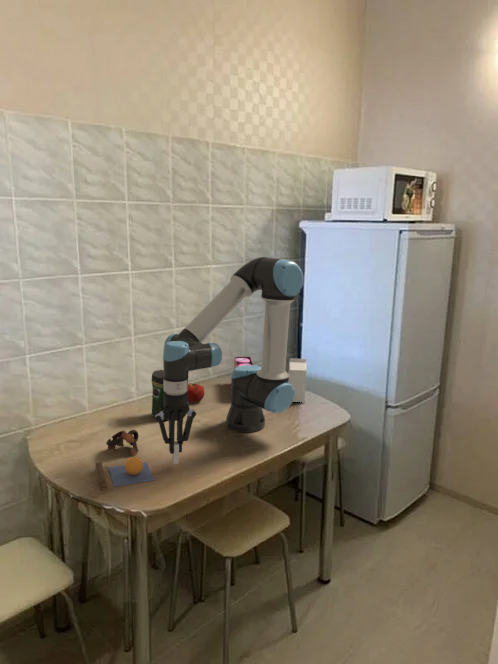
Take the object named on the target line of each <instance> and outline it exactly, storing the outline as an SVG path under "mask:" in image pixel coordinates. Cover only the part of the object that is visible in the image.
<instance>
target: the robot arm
mask: <svg viewBox="0 0 498 664" xmlns="http://www.w3.org/2000/svg"><path fill="white" fill-rule="evenodd" d="M229 281H230V282H228V284H227V285H226V286H225V287H224V288H223V289H222V290H220V292H218V294H216V295H215V296H214V297H213V298H212V300H211V301H209V303H207V305H205V307H204V308H203V309H202V310H201V311H200V312H199V313H198V314H197V315H196V316H195V317H194V318H193V319H192V320H191V321H190V322H189V323H188V324H187V325H186V326H185V327H184V328H183V329H182V330H181V331H180V332H179V333H172V334H169V335H168V336H167V337H166V339H165V340H164V346H163V354H162V361H163V364H162V365H163V367H162V368H163V369H162V370H164V389H163V390H164V405H163V408H162V411H161V412H160V413H159V414H157V413H156V414H155V417H156V418H155V417H154V418H155V419H156V420H157V422H158V425H159V428H160V429H159V430H160V432H161V436H162V440H163V441H164V444H167V445H168V446H169V447H168V451H169V453H170V455H171V456H172V457H171V458H172V460H171V461H172V463H173V464H174V465H177V464H180V453H182V451H183V444H184V442H187V441H188V440H189V437H190V434H191V429H192V425H193V421H194V418H195V417H196V415H197V412H196V411H195V409H192V408H190V406H189V401H188V392H187V391H188V384H189V374H190V373H189V372H193V371H197V370H201V369H202V370H203V369H207V368H213V367H216V366H219V365H220V364H221V363H222V360H223V351H222V348H221V347H220V345H219V344H218V343H216V342H208V343H202V342H204V341H205V339H207V337H208V336H209V335H211V334H212V332H213V331H214V330H216V328H217V327H218V326H219V325H220V324H221V323H222V322H223V321H224V320H225V319H226V318H227V317H228V315H229V314H231V312H232V311H233V310H234V309H236V307H237V306H238V305H239V304H240V303H241V302H242V301H243V300H244V299H245V298H246V297H248V298H249V297H251V296H252V295H253V294H254V293H255V292H257V291H261V297H260V298H261V299H262V300H263V302H264V304H265V305H264V317H263V318H264V319H263V320H264V321H263V337H262V350H261V351H262V352H261V365H254V364H253V365H248V366H240V367H236V368H235V369H234V368H233V370H232V372H231V374H232V375H231V378H230V382H231V386H230V387H231V388H230V389H231V390H230V392H231V393H230V394H231V395H230V400H231V402H230V406H229V409H228V412H227V415H226V418H225V426H226V427H227V428H228V429H230V430H233V431H235V432H240V433H241V432H242V433H252V432H258V431H261V430H263V429H264V428H265V427H266V417H265V414H264V411H263V409H264V410H265V411H267V412H270V413H273V414H281V413H283V412H285V411H287V410H288V408H289V407H290V406H291V405H292V404H293V403H292V401H293V399H294V394H295V391H294V388H293V386H292V385H291V384H290V383H289V374H288V373H289V372H287V371H286V365H287V364H286V363H287V349H288V348H287V347H288V339H289V338H288V337H289V322H290V309H291V305H292V303H293V302H294V301H295V299H296V296H297V295H298V294H299V293H300V292H301V290H302V288H303V286H304V274H303V270H302V269H301V267H300V266H299V264H297V262H295V261H292V260H288V259H284V258H274V257H273V258H272V257H268V256H267V257H266V256H261V257H256V258H254V259H251V260H250V261H248V262H246V263H245V264H244V265H242V266H241V267H240V268H239V269H237V271H235V272H234V273H233V274H232V276H231V277H230V279H229ZM163 415H165V416H166V417H167V418H168V420H167V421H168V434H167V429H166V426H165V422H164V420H163V419H164V417H163ZM186 415H187V416H186ZM185 417H186V420H185V423H184V418H185ZM175 424H176V426H175ZM183 424H185V425H184V428H183ZM264 426H265V427H264ZM175 427H176V440H175ZM263 427H264V428H263ZM262 428H263V429H262ZM260 429H261V430H260Z"/></svg>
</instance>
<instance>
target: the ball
mask: <svg viewBox="0 0 498 664" xmlns="http://www.w3.org/2000/svg"><path fill="white" fill-rule="evenodd" d="M143 462H144V461H143V460H142V459H141V458H140V457H137V456H133V457H132V456H131V457H129V458H128V459H127V460H126V461H125V464H124V465H125V470H126V472H127V473H128V474H130V475H137V474H139V473H140V472H141V471H142V469H143Z"/></svg>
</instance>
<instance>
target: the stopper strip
mask: <svg viewBox="0 0 498 664" xmlns="http://www.w3.org/2000/svg"><path fill="white" fill-rule="evenodd" d="M94 467H95V469H94V470H95V474H96V479H97V481H98V482H97V484H98V486H99V490H102V489H103V490H104V489H107V488H108V480H107V476H106V472H105V469H104V465H103V462H102V461H99V462H95V463H94Z"/></svg>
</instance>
